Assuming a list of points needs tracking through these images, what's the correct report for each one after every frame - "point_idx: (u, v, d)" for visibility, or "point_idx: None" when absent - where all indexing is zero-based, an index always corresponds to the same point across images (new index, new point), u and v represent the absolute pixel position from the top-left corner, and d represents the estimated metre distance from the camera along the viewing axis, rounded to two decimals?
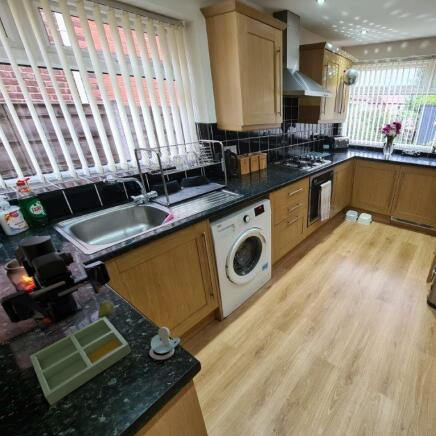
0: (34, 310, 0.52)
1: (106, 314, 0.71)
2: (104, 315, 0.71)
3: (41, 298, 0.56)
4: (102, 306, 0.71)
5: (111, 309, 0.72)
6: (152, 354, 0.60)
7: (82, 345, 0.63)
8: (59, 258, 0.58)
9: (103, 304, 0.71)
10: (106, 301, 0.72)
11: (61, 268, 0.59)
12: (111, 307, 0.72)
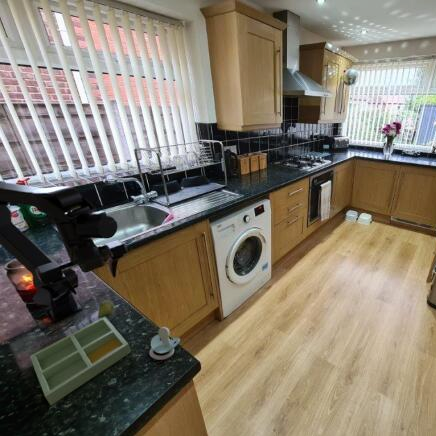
0: (68, 289, 0.64)
1: (106, 314, 0.71)
2: (104, 315, 0.71)
3: None
4: (102, 306, 0.71)
5: (111, 309, 0.72)
6: (152, 354, 0.60)
7: (82, 345, 0.63)
8: (103, 264, 0.63)
9: (103, 304, 0.71)
10: (106, 301, 0.72)
11: None
12: (111, 307, 0.72)
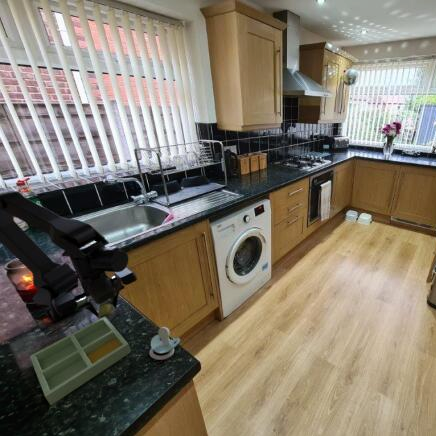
0: None
1: (106, 314, 0.71)
2: (104, 315, 0.71)
3: None
4: (102, 306, 0.70)
5: (111, 309, 0.72)
6: (152, 354, 0.60)
7: (82, 345, 0.63)
8: (115, 295, 0.67)
9: (103, 304, 0.71)
10: (106, 301, 0.72)
11: None
12: (111, 307, 0.72)
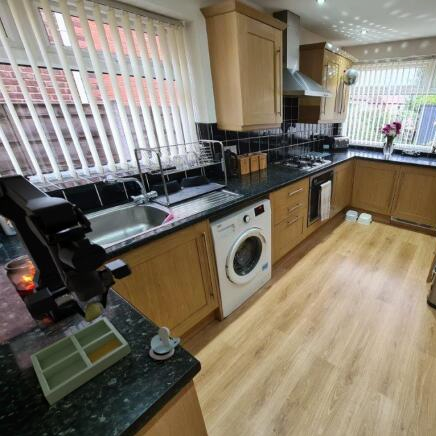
0: (78, 313, 0.57)
1: (95, 316, 0.58)
2: (93, 318, 0.58)
3: None
4: (89, 307, 0.57)
5: (100, 310, 0.59)
6: (152, 354, 0.60)
7: (82, 345, 0.63)
8: (104, 291, 0.54)
9: (89, 305, 0.57)
10: (92, 301, 0.58)
11: None
12: (100, 307, 0.59)
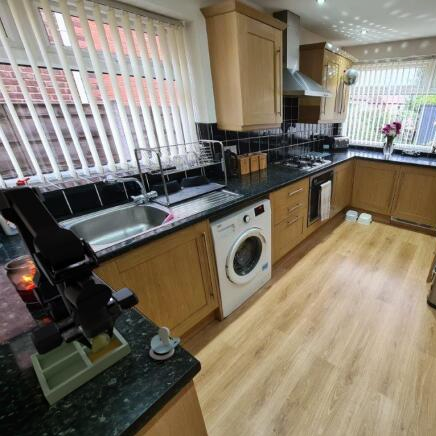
0: (85, 345, 0.56)
1: (102, 348, 0.57)
2: (99, 350, 0.57)
3: None
4: (95, 339, 0.56)
5: (107, 341, 0.58)
6: (152, 354, 0.60)
7: (82, 345, 0.63)
8: (111, 325, 0.53)
9: (96, 337, 0.57)
10: None
11: None
12: (106, 338, 0.58)
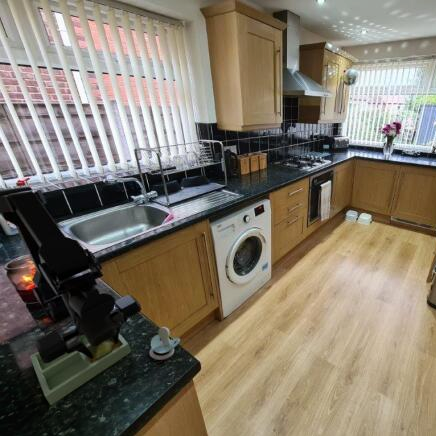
0: (85, 354, 0.56)
1: (105, 355, 0.58)
2: (103, 356, 0.58)
3: None
4: (100, 346, 0.58)
5: (111, 347, 0.59)
6: (152, 354, 0.60)
7: None
8: (114, 333, 0.54)
9: (101, 343, 0.58)
10: None
11: None
12: (110, 345, 0.60)
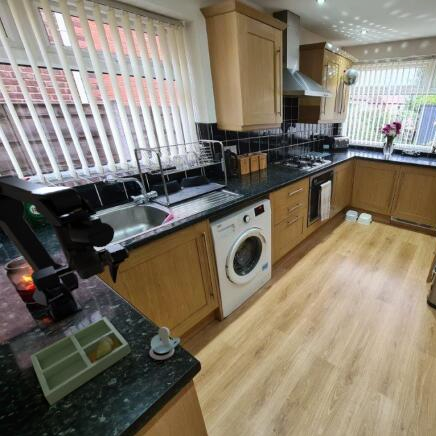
0: (66, 296, 0.60)
1: (105, 355, 0.58)
2: (103, 356, 0.58)
3: None
4: (100, 346, 0.58)
5: (111, 347, 0.60)
6: (152, 354, 0.60)
7: (82, 345, 0.63)
8: (103, 270, 0.59)
9: (101, 343, 0.58)
10: (104, 339, 0.59)
11: None
12: (111, 345, 0.60)
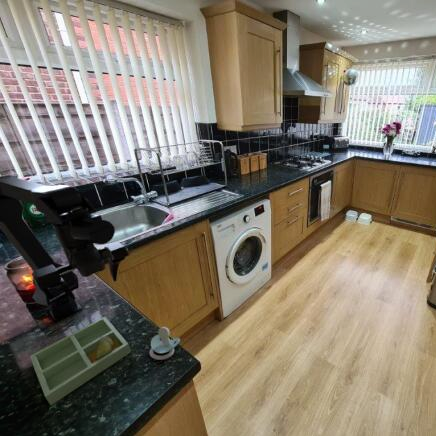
0: (67, 294, 0.60)
1: (105, 355, 0.58)
2: (103, 356, 0.58)
3: None
4: (100, 346, 0.58)
5: (111, 347, 0.60)
6: (152, 354, 0.60)
7: (82, 345, 0.63)
8: (103, 268, 0.60)
9: (101, 343, 0.58)
10: (104, 339, 0.59)
11: None
12: (111, 345, 0.60)
